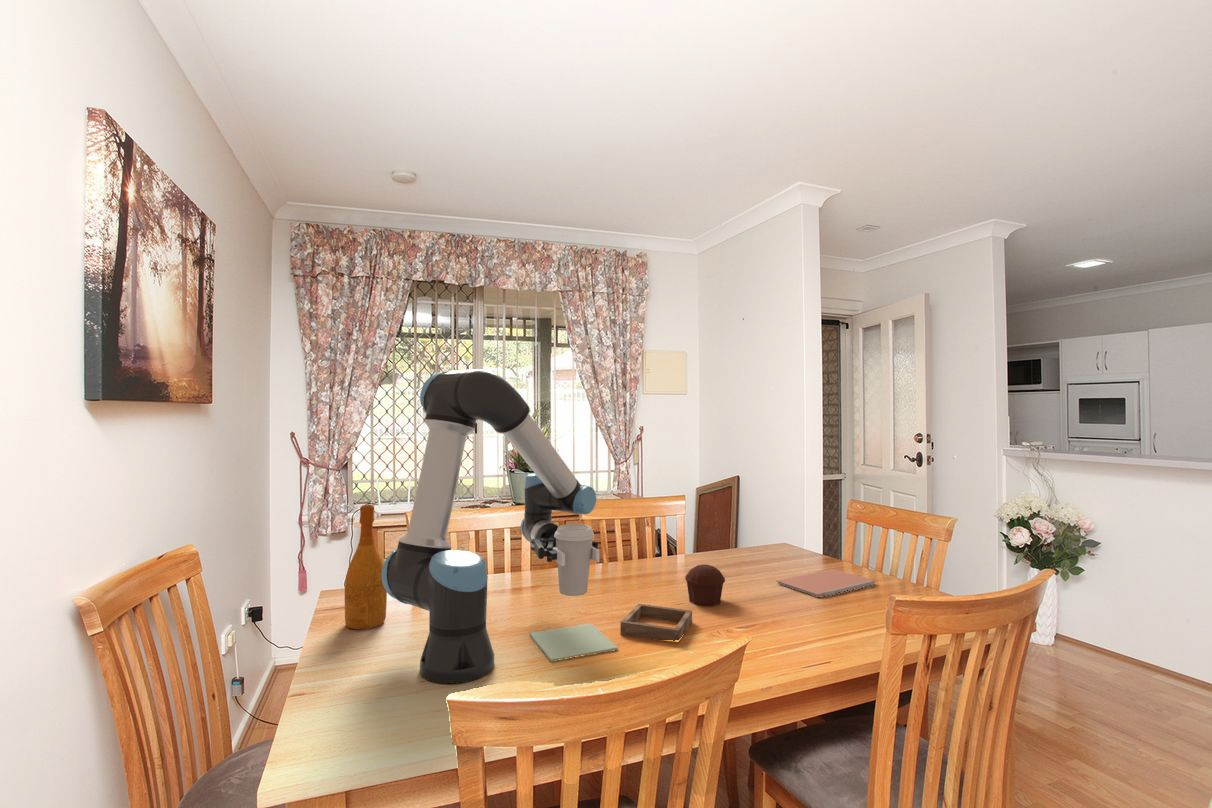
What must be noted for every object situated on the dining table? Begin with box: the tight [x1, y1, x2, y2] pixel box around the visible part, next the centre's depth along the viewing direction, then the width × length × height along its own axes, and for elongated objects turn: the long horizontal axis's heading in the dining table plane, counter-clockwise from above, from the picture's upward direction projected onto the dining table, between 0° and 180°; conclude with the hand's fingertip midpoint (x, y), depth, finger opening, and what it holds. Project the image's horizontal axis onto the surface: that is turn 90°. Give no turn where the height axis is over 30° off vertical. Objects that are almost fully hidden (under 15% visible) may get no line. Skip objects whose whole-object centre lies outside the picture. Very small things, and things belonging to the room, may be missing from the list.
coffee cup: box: [554, 523, 596, 597], centre depth 136 cm, size 10×10×15 cm
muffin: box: [684, 564, 726, 607], centre depth 165 cm, size 12×11×10 cm
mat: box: [529, 623, 619, 662], centre depth 135 cm, size 16×16×1 cm
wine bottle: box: [344, 504, 388, 630], centre depth 146 cm, size 10×10×30 cm
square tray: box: [619, 603, 693, 641], centre depth 145 cm, size 14×14×3 cm
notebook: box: [775, 568, 876, 598], centre depth 182 cm, size 27×17×2 cm, turn 121°
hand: (580, 558), depth 131 cm, fingers closed on coffee cup, 8 cm apart
